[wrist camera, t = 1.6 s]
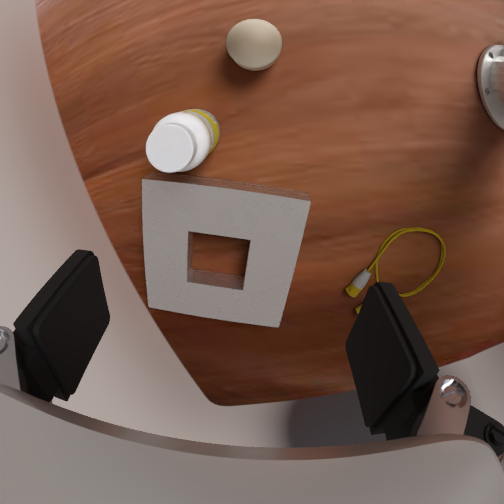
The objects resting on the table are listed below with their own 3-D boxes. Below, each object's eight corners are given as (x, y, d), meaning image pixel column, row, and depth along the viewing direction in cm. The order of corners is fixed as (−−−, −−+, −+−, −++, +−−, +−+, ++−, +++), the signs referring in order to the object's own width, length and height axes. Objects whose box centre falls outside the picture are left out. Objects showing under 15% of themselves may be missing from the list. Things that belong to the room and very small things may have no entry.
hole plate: (151, 171, 32) (142, 178, 29) (307, 192, 32) (310, 201, 30) (155, 293, 41) (148, 307, 38) (278, 312, 41) (278, 327, 39)
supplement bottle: (176, 158, 31) (142, 184, 22) (170, 112, 28) (132, 120, 20) (223, 154, 30) (205, 178, 22) (219, 105, 28) (198, 109, 19)
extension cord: (336, 243, 36) (339, 251, 34) (443, 215, 33) (450, 222, 31) (348, 312, 41) (350, 321, 40) (439, 285, 38) (445, 293, 37)
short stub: (234, 26, 23) (230, 16, 20) (283, 32, 23) (285, 23, 20) (228, 68, 26) (222, 64, 22) (276, 74, 26) (277, 70, 22)
